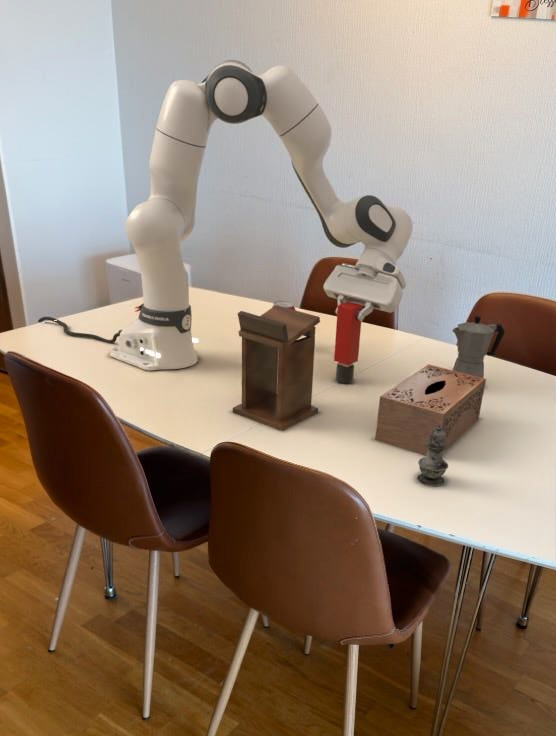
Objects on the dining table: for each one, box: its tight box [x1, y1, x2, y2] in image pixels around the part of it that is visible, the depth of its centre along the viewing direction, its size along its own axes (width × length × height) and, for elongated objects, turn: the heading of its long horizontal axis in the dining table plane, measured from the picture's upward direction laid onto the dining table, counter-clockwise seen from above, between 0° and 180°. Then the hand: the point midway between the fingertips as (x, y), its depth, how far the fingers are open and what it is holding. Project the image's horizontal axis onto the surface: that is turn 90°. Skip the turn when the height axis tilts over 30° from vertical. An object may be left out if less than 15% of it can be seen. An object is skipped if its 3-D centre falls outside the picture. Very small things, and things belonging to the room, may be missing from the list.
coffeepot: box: [452, 315, 506, 378], centre depth 184 cm, size 15×9×18 cm, turn 113°
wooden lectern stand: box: [232, 305, 321, 432], centre depth 156 cm, size 14×14×23 cm
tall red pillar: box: [333, 302, 364, 384], centre depth 177 cm, size 19×4×9 cm
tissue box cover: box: [374, 363, 487, 456], centre depth 159 cm, size 26×14×10 cm, turn 151°
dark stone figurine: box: [417, 424, 449, 487], centre depth 137 cm, size 6×6×12 cm
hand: (348, 317), depth 173 cm, fingers closed on tall red pillar, 4 cm apart
